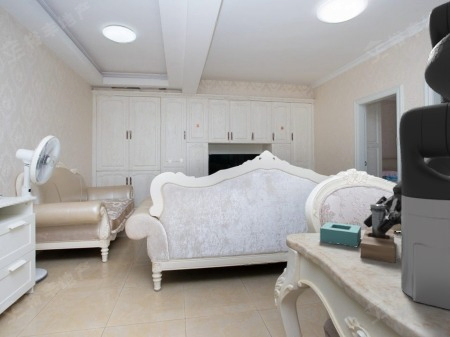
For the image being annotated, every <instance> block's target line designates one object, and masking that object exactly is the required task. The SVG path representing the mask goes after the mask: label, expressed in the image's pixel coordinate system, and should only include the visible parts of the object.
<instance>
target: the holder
mask: <svg viewBox="0 0 450 337" xmlns="http://www.w3.org/2000/svg"><path fill="white" fill-rule="evenodd" d="M360 238H361V239H362V226H361V225H357V224H356V225H355V224H348V223H337V222H331V221H327V222H325V223H324V224H323V225H322V226H321V227H320V228H319V241H320V242H321V241H325V242H324V243H327V242H331V243H330V244H334V243H339V244H338V245H340V244H346V245H351V246H350V247H352V246H358V247H359V245H360V242H361V240H360ZM359 241H360V242H359ZM358 244H359V245H358ZM346 245H345V246H346Z"/></svg>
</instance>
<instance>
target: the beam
mask: <svg viewBox="0 0 450 337" xmlns="http://www.w3.org/2000/svg"><path fill="white" fill-rule="evenodd" d="M365 228H366V229H365V231H364V234H363V235H362V237H361V240H360V258H363V257H364V258H365V259H370V260H375V261H381V262H388V263H392V264H395V249H396V247H395V232H394V230H389V231H387V232H386V239H381V238H374V237H372V226H371V227H370V228H369V227H367V226H366V227H365Z"/></svg>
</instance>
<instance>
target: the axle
mask: <svg viewBox="0 0 450 337" xmlns="http://www.w3.org/2000/svg"><path fill="white" fill-rule="evenodd" d="M370 209H372V213H371V214H372V226H371V227H372V237H374V238H381V239H386V233H385V234H381V233H380V232H379V231H378V230H377V227H378V226H379V225H380V224H381V223H382V222H383V221H384V220H385V219H387V216H386V210H387V205H382V204H376V203H371V204H370Z"/></svg>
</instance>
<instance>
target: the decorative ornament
mask: <svg viewBox="0 0 450 337" xmlns="http://www.w3.org/2000/svg"><path fill="white" fill-rule="evenodd" d="M390 230H394V231H401V225H400V224H398V225H394V226H393V227H392V228H391V229H390Z"/></svg>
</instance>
